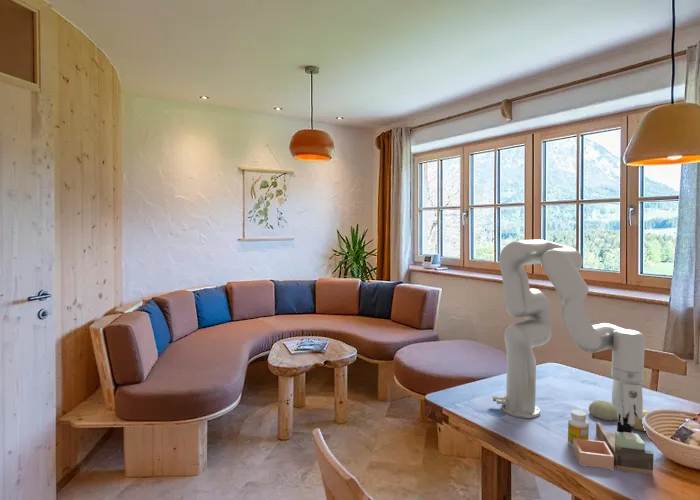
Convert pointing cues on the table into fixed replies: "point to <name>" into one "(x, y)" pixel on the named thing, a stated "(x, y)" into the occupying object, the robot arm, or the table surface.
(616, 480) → the table surface
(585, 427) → the supplement bottle
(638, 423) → the onion
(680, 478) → the table surface
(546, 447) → the table surface
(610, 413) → the sea urchin shell
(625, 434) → the block
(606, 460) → the holder
